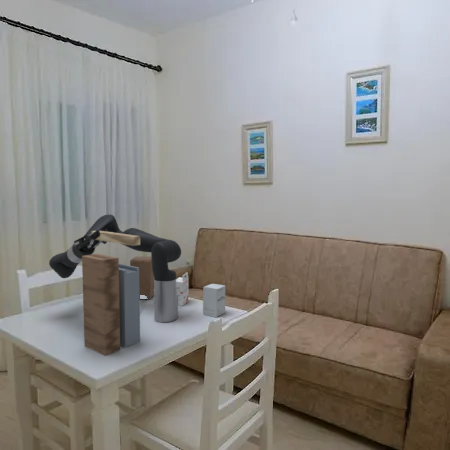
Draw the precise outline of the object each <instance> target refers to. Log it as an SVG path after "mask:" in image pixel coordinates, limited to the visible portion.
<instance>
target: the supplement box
mask: <svg viewBox="0 0 450 450" xmlns="http://www.w3.org/2000/svg"><path fill="white" fill-rule="evenodd" d="M202 288H203V290H202V294H203V295H202V315H203V316H209V317H212V318H218V317H220V316H222V315H223V314H226V285H224V284H217V283H210V284H207V285H205V286H203V287H202Z"/></svg>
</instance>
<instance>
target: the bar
mask: <svg viewBox="0 0 450 450" xmlns="http://www.w3.org/2000/svg"><path fill="white" fill-rule="evenodd" d="M94 232H95V231H92V234H93V233H94ZM95 240H100V241H107V242H108V243H113V244H120V245H122V244H125V245H131V246H136V245H140V236H135V235H128V234H121V233H113V232H106V231H100V236H99V237H98V238H96V239H95ZM125 245H124V246H125Z"/></svg>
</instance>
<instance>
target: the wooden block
mask: <svg viewBox="0 0 450 450" xmlns="http://www.w3.org/2000/svg"><path fill="white" fill-rule="evenodd" d="M129 263H130V264H129V266H134V267H139V294H140V295H145V296H147V298H148V301H149V300H151V299H152V297H154V274H153V271H152V257H151V256H134V257H133V258H131V259H130V261H129Z"/></svg>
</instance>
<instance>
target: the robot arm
mask: <svg viewBox="0 0 450 450" xmlns="http://www.w3.org/2000/svg"><path fill="white" fill-rule="evenodd" d="M92 231H95V232H94V233H93V234H92ZM100 231H106V232H113V233H121V234H128V235H135V236H140V245H136V246H131V245H125V244H121V245H122V246H125V247H126V248H129V249H131V250H134V251H136V252H142V253H144V252H145V253H150V254H151V256H150V257H152V271H153V274H154V294H153V300H154V301H153V304H154V307H153V309H154V313H153V315H154V316H153V317H154V319H153V320H154V321H156V322H158V323H169V322H174V321H175V320H177V318H179V306H178V296H177V295H176V279H177V272H176V271H175V270H171V269H170V268H169V263H172V262H176V261H177V260H179V259H180V258H181V255H182V248H181V247H180V245H179V244H178V243H177V242H176V241H175V240H173V239H167V238H163V237H159V236H156V235H153V234H152V233H149V232H146V231H144V230H141V229H138V228H136V227H130V228H127V229H125V230H124V231H123V230H121V229H120V228H119V224H118V221H117V219H116V216H114V215H113V214H105V215H102V216H100V217H99V218H97V219H96V220H95V222H94V223H93V224H92V225H91V227H90V228H89V229H88V230H87V231H86V232H85V234H84V235H83V236H82V237H79V238H78V239H76V240H74V241H73V244H71V246H70V247H69V248H68V249H67V250H66V251H64V252H60V253H57V254H55V255H54V256H52V257H51V258H50V259H49V263H48V264H49V267H50V268H51V269H52V270H53V271H54V272H55V273H56V274H57V275H58V277H60V278H62V279H67V278H70V277H71V276H72V275H73V274H74V272H75V271H76V269H77V267H78V266H79V264H80V263H82V256H85V255H92V254H94V253H95V251H96V248H97V247H98V246H99V245H100V244H103V245H106V244H107V241H100V240H95V239H96V238H98V237H99V236H100Z"/></svg>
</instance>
